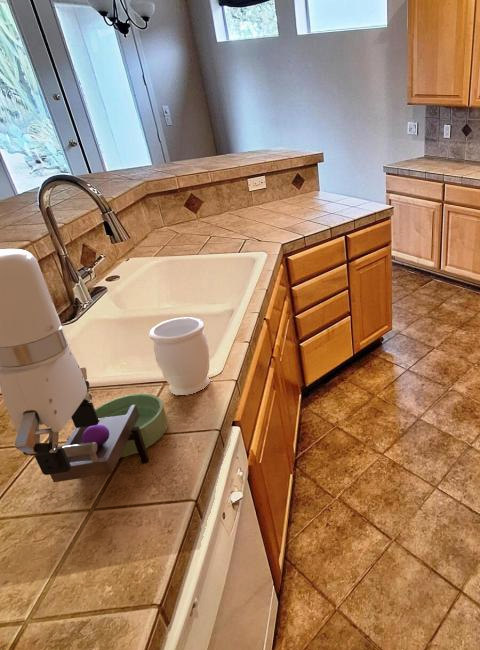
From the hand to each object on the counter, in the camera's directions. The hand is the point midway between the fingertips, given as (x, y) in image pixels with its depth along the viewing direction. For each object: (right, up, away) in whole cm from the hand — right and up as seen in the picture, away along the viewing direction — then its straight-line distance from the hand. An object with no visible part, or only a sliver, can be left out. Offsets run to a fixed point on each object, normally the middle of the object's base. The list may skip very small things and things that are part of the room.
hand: (73, 447), depth 63 cm
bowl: (-4, -4, +20) cm, 21 cm away
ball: (-2, +1, +8) cm, 9 cm away
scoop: (-2, -3, +8) cm, 9 cm away
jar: (0, +3, +35) cm, 35 cm away
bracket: (-2, -7, +13) cm, 15 cm away
